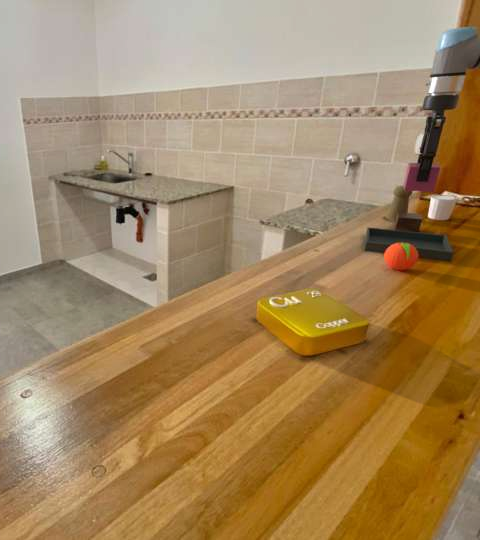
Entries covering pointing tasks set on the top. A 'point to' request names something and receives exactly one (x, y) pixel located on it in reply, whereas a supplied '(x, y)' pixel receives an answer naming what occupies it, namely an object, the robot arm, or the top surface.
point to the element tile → (311, 321)
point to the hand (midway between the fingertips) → (420, 178)
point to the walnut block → (408, 222)
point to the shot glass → (441, 207)
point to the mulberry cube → (414, 185)
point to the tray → (409, 242)
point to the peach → (401, 256)
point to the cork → (399, 202)
